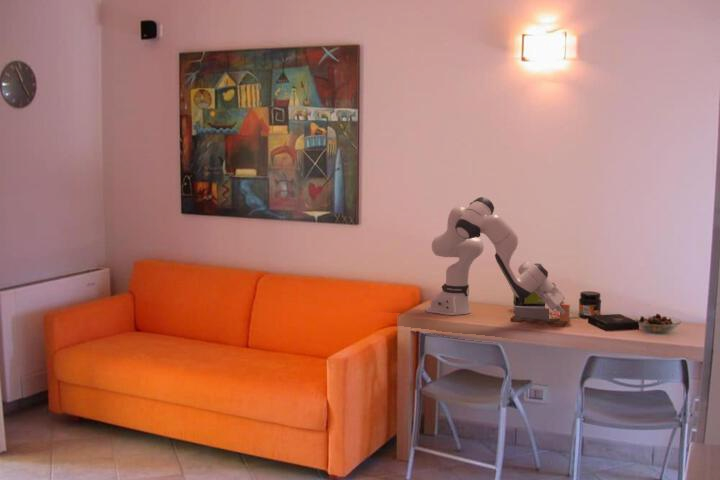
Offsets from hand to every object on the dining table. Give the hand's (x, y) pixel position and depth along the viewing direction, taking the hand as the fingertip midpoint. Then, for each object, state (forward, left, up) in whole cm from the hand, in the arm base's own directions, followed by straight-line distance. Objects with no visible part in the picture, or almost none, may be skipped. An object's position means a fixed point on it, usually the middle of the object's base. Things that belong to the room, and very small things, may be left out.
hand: (565, 312), depth 367 cm
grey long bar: (-16, 0, -4) cm, 17 cm away
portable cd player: (+21, +6, -7) cm, 23 cm away
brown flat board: (-12, 0, -6) cm, 13 cm away
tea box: (-22, +21, -6) cm, 31 cm away
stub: (-1, 0, -4) cm, 4 cm away
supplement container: (+8, +21, -6) cm, 23 cm away
